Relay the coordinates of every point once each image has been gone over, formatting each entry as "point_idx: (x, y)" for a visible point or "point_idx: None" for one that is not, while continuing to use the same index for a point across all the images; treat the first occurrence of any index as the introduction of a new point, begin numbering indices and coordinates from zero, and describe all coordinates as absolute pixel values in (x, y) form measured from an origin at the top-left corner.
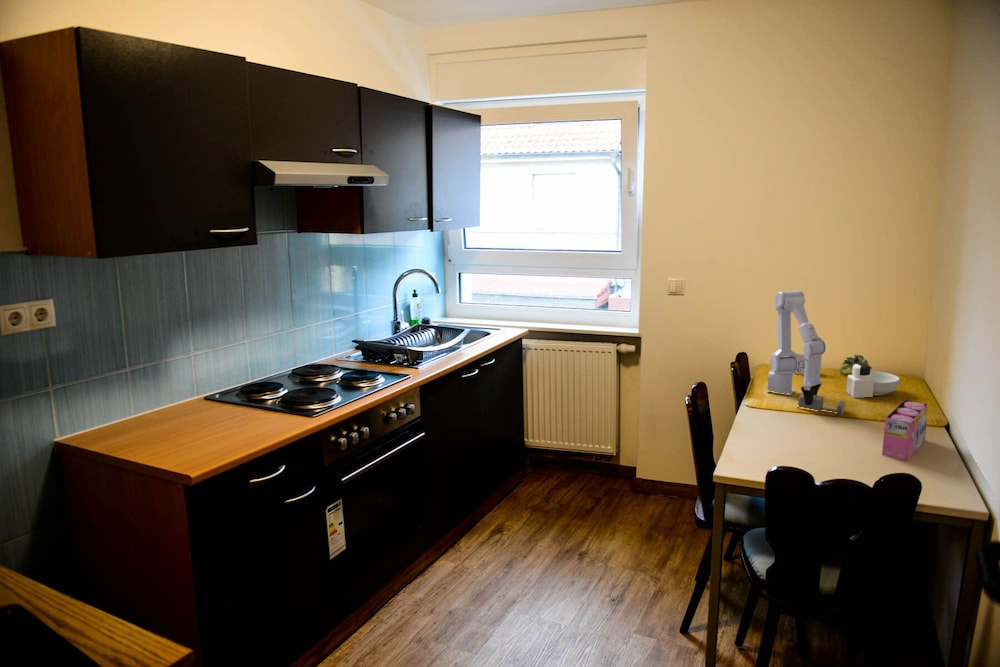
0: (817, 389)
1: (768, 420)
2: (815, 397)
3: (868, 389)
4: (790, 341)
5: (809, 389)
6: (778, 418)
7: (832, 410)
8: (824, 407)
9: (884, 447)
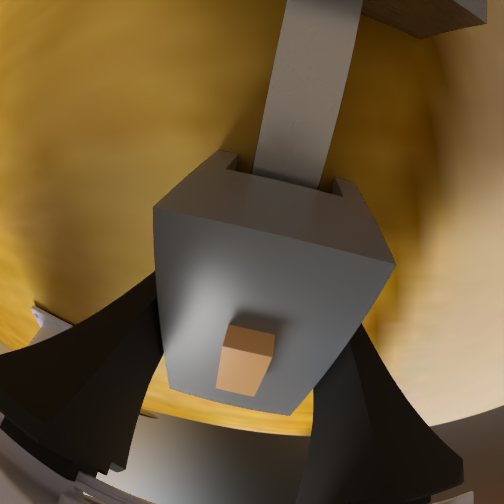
0: (101, 374)
1: (462, 392)
2: (252, 322)
3: None
4: None
5: (472, 501)
6: (453, 378)
7: (349, 55)
8: (309, 145)
9: None
